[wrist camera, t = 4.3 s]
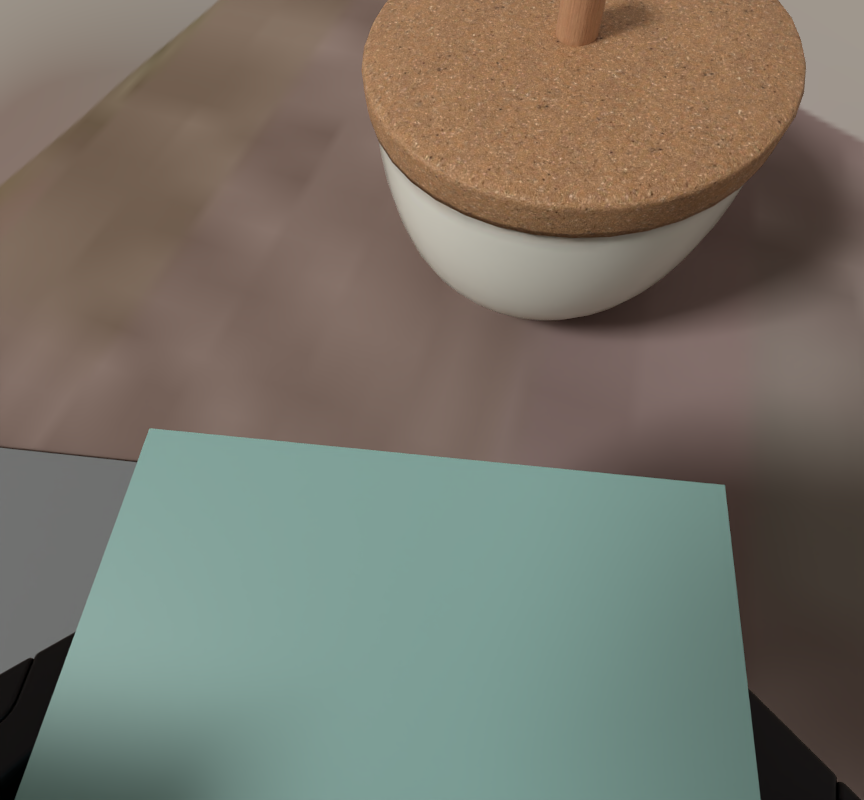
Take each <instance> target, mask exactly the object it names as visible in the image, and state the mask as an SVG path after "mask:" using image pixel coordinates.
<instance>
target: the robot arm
mask: <svg viewBox="0 0 864 800" xmlns="http://www.w3.org/2000/svg"><path fill="white" fill-rule="evenodd" d="M74 635H75V632H74V633H72V634H70V635H69V636H67V637H65V638H63V639H61V640H60V641H58V642H56V643H54V644H53V645H51V646H49V647H47V648H46V649H44V650H42V651H40V652H38V653H37V654H36V655H35V657H34V659H33V658H28V659H26V660H24V661H22V662H21V663H19V664H17V665H15V666H13V667H12V668H10V669H8V670H6V671H5V672H3V673H1V674H0V800H15V797H16V794H17V792H18V789H19V786H20V783H21V781H22V778H23V775H24V772H25V770H26V767H27V764H28V761H29V759H30V756H31V753H32V750H33V748H34V745H35V742H36V739H37V737H38V734H39V731H40V728H41V726H42V723H43V720H44V717H45V715H46V712H47V709H48V706H49V704H50V701H51V698H52V695H53V693H54V690H55V687H56V684H57V682H58V679H59V676H60V673H61V671H62V668H63V665H64V662H65V660H66V657H67V654H68V651H69V649H70V646H71V643H72V640H73V638H74ZM748 693H749V702H750V710H751V719H752V728H753V737H754V745H755V754H756V763H757V772H758V781H759V789H760V798H761V800H861V799H860V798H859V797H858V796H857V795H856V794H855V793H854V792H853V791H852V790H851V789H850V788H849V787H847V786H846V785H845V784H844V783H843V782H837V778H836V775H835V774H834V773H833V772H832V771H831V770H830V769H829V768H828V767H827V766H826V765H825V764H824V763H823V762H822V761H821V760H820V759H819V758H818V757H817V756H816V755H815V754H814V753H813V752H812V751H811V750H810V749H809V748H808V747H807V746H806V745H805V744H804V743H803V742H802V741H801V740H800V739H799V738H798V737H797V736H796V735H795V734H794V733H793V732H792V731H791V730H790V729H789V728H788V727H787V726H786V725H785V724H784V723H783V722H782V721H781V720H780V719H779V718H778V717H777V716H776V715H775V714H774V713H773V712H772V711H770V710H769V709H768V708H767V707H766V706H765V705H764V704H763V703H762V702H761V701H760V700H759V699H758V698H757V697H756V696H755V695H754V694H753V693H752V692H751V691H750V690H749V689H748Z"/></svg>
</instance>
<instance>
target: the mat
mask: <svg viewBox="0 0 864 800" xmlns="http://www.w3.org/2000/svg"><path fill="white" fill-rule="evenodd" d="M136 464H137V462H130V461H120V460H111V459H102V458H92V457H83V456H73V455H64V454H54V453H45V452H36V451H26V450H17V449H7V448H0V674H1V673H3V672H5V671H6V670H8V669H10V668H12V667H13V666H15V665H17V664H19V663H21V662H22V661H24V660H26V659H28V658H33V659H34V657H35V655H36V654H37V653H38V652H40V651H42V650H44V649H46V648H47V647H49V646H51V645H53V644H54V643H56V642H58V641H60V640H61V639H63V638H65V637H67V636H69V635H70V634H72V633H74V632H76V629H77V627H78V624H79V621H80V618H81V616H82V613H83V610H84V607H85V605H86V602H87V599H88V596H89V594H90V591H91V588H92V585H93V583H94V580H95V577H96V574H97V572H98V569H99V566H100V563H101V561H102V558H103V555H104V552H105V550H106V547H107V544H108V541H109V539H110V536H111V533H112V530H113V528H114V525H115V522H116V519H117V517H118V514H119V511H120V508H121V506H122V503H123V500H124V497H125V495H126V492H127V489H128V486H129V484H130V481H131V478H132V475H133V473H134V470H135V467H136Z"/></svg>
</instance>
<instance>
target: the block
mask: <svg viewBox="0 0 864 800" xmlns="http://www.w3.org/2000/svg"><path fill="white" fill-rule="evenodd" d="M15 800H761V798H760V789H759V781H758V772H757V763H756V754H755V745H754V737H753V728H752V719H751V710H750V702H749V693H748V684H747V675H746V666H745V658H744V649H743V640H742V631H741V623H740V614H739V605H738V596H737V587H736V579H735V570H734V561H733V552H732V544H731V535H730V526H729V517H728V508H727V500H726V491H725V485H719V484H709V483H699V482H689V481H679V480H669V479H659V478H648V477H638V476H628V475H618V474H608V473H598V472H587V471H577V470H567V469H557V468H547V467H537V466H527V465H516V464H506V463H496V462H486V461H476V460H466V459H456V458H445V457H435V456H425V455H415V454H405V453H395V452H384V451H374V450H364V449H354V448H344V447H334V446H324V445H313V444H303V443H293V442H283V441H273V440H263V439H252V438H242V437H232V436H222V435H212V434H202V433H192V432H181V431H171V430H161V429H151V428H150V429H149V431H148V434H147V437H146V440H145V442H144V445H143V448H142V451H141V453H140V456H139V459H138V462H137V464H136V467H135V470H134V473H133V475H132V478H131V481H130V484H129V486H128V489H127V492H126V495H125V497H124V500H123V503H122V506H121V508H120V511H119V514H118V517H117V519H116V522H115V525H114V528H113V530H112V533H111V536H110V539H109V541H108V544H107V547H106V550H105V552H104V555H103V558H102V561H101V563H100V566H99V569H98V572H97V574H96V577H95V580H94V583H93V585H92V588H91V591H90V594H89V596H88V599H87V602H86V605H85V607H84V610H83V613H82V616H81V618H80V621H79V624H78V627H77V629H76V632H75V635H74V638H73V640H72V643H71V646H70V649H69V651H68V654H67V657H66V660H65V662H64V665H63V668H62V671H61V673H60V676H59V679H58V682H57V684H56V687H55V690H54V693H53V695H52V698H51V701H50V704H49V706H48V709H47V712H46V715H45V717H44V720H43V723H42V726H41V728H40V731H39V734H38V737H37V739H36V742H35V745H34V748H33V750H32V753H31V756H30V759H29V761H28V764H27V767H26V770H25V772H24V775H23V778H22V781H21V783H20V786H19V789H18V792H17V794H16V797H15Z"/></svg>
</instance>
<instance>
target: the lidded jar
mask: <svg viewBox="0 0 864 800" xmlns="http://www.w3.org/2000/svg"><path fill="white" fill-rule="evenodd" d="M805 70H806V63H805V58H804V53H803V48H802V43H801V39H800V37H799V34H798V32H797V30H796V27H795V25H794V22H793V20H792V18H791V17H790V15H789V14H788V13H787V11H786V10H785V9H784V7H783V6H782V5H781V4H780V2H779V1H778V0H388V1H387V2H386V4H385V5H384V7H383V8H382V10H381V11H380V13H379V15H378V16H377V18H376V19H375V21H374V23H373V25H372V27H371V30H370V33H369V36H368V39H367V42H366V44H365V47H364V53H363V63H362V76H363V83H364V90H365V96H366V102H367V107H368V112H369V116H370V119H371V122H372V125H373V127H374V130H375V133H376V135H377V138H378V141H379V146H380V151H381V156H382V161H383V165H384V169H385V173H386V178H387V181H388V184H389V187H390V190H391V193H392V196H393V198H394V201H395V204H396V207H397V209H398V212H399V215H400V218H401V220H402V223H403V225H404V227H405V229H406V230H407V232H408V234H409V236H410V238H411V240H412V242H413V243H414V245H415V247H416V248H417V250H418V252H419V253H420V255H421V256H422V257H423V259H424V260H425V261H426V262H427V263H428V264H429V266H430V267H431V268H432V269H433V270H434V271H435V272H436V273H437V275H438V276H439V277H440V278H441V279H442V280H443V281H444V282H445V283H446V284H448V285H449V286H450V287H451V288H453V289H454V290H455V291H456V292H458V293H459V294H461V295H463V296H464V297H466V298H468V299H470V300H471V301H473V302H475V303H477V304H478V305H480V306H482V307H485V308H487V309H490V310H492V311H495V312H497V313H500V314H504V315H508V316H512V317H516V318H522V319H531V320H563V319H569V318H576V317H582V316H588V315H591V314H595V313H598V312H601V311H604V310H608V309H610V308H612V307H614V306H617V305H619V304H621V303H623V302H625V301H627V300H629V299H631V298H633V297H635V296H636V295H638V294H640V293H642V292H644V291H645V290H646V289H648V288H649V287H651V286H652V285H654V284H655V283H657V282H658V281H659V280H661V279H662V278H663V277H664V276H665V275H667V274H668V273H669V272H670V271H671V270H672V269H674V268H675V267H676V266H677V265H678V264H679V263H680V262H681V261H682V260H683V259H684V258H685V257H686V256H687V255H688V254H689V253H690V252H691V251H692V250H693V249H694V248H695V247H696V246H697V245H698V244H699V243H700V242H701V241H702V239H703V238H704V237H705V236H706V235H707V234H708V233H709V232H710V231H711V230H712V228H713V227H714V226H715V225H716V223H717V222H718V221H719V219H720V218H721V217H722V215H723V214H724V212H725V211H726V210H727V208H728V207H729V206H730V204H731V203H732V201H733V200H734V198H735V197H736V195H737V194H738V192H739V191H740V189H741V188H742V186H743V185H744V183H746V182H747V181H748V180H749V179H750V178H751V177H752V176H753V175H754V174H755V173H756V172H757V171H758V170H759V169H760V168H761V166H762V165H763V164H764V163H765V161H766V160H767V158H768V157H769V156H770V154H771V153H772V151H773V150H774V148H775V147H776V145H777V144H778V142H779V141H780V139H781V138H782V136H783V135H784V133H785V132H786V130H787V129H788V127H789V126H790V124H791V123H792V121H793V119H794V118H795V116H796V114H797V111H798V108H799V105H800V102H801V99H802V96H803V94H804V84H805Z"/></svg>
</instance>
